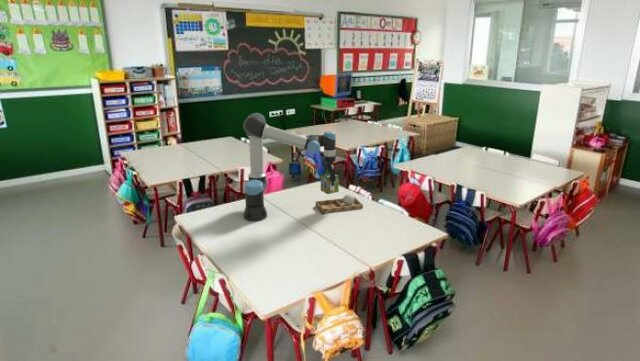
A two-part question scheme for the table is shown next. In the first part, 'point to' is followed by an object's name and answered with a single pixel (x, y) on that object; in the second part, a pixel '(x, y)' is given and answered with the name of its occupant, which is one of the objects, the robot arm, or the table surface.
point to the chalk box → (326, 183)
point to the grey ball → (348, 199)
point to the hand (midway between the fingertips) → (329, 187)
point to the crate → (336, 205)
